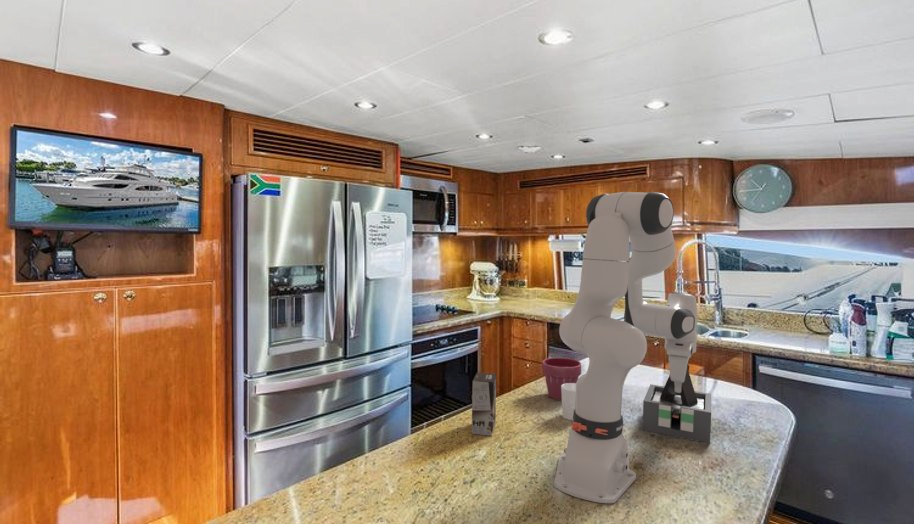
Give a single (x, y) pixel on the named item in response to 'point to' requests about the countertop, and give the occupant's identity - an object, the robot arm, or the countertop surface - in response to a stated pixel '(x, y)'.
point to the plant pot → (560, 374)
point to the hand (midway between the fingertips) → (678, 388)
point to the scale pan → (677, 408)
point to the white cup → (568, 399)
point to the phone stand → (686, 393)
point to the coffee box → (484, 403)
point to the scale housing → (687, 425)
